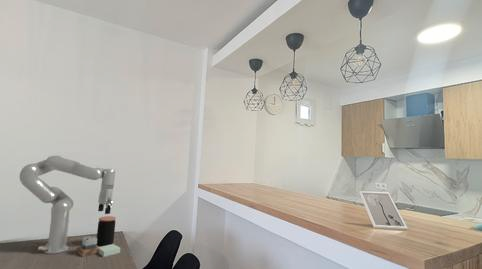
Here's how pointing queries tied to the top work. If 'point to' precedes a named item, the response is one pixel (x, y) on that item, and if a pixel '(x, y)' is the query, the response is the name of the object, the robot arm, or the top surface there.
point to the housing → (89, 242)
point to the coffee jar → (106, 231)
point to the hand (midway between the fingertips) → (104, 212)
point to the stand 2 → (109, 250)
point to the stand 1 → (87, 251)
